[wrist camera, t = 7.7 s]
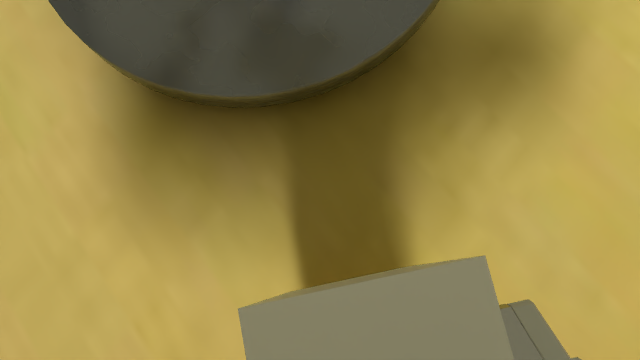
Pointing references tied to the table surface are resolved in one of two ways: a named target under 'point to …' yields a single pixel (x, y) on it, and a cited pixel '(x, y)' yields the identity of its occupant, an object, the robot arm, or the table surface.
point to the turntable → (243, 43)
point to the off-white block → (384, 317)
